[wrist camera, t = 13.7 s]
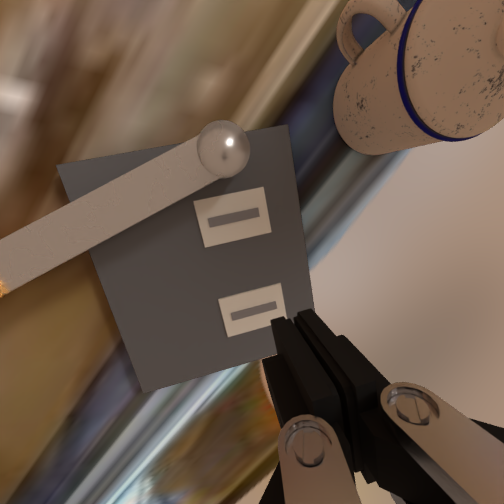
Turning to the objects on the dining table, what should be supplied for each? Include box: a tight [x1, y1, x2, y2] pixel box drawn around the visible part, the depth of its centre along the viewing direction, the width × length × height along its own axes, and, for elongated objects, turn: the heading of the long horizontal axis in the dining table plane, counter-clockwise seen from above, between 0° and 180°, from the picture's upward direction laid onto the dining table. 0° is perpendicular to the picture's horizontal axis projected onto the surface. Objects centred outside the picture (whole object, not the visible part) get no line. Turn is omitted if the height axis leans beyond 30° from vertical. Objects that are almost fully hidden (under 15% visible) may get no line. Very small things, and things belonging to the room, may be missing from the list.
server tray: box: [56, 124, 315, 394], centre depth 23 cm, size 18×21×2 cm
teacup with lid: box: [333, 0, 504, 155], centre depth 17 cm, size 12×9×12 cm
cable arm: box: [0, 120, 250, 298], centre depth 17 cm, size 22×4×3 cm, turn 118°
